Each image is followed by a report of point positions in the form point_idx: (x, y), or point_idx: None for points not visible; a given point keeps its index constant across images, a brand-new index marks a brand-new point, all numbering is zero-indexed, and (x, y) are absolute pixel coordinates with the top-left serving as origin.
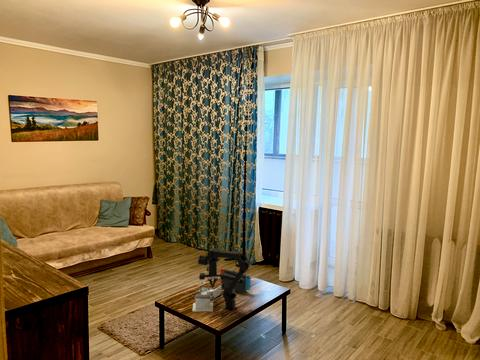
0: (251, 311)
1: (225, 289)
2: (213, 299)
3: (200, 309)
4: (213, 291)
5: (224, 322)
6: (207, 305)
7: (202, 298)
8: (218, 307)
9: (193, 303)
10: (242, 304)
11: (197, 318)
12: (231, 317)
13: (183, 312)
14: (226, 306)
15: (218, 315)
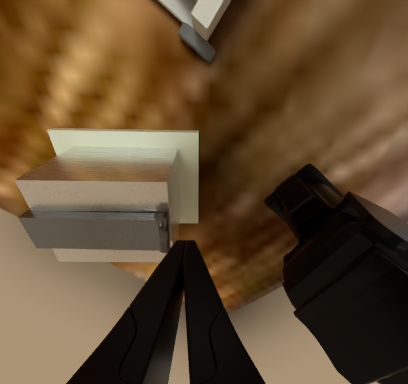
0: None
1: (341, 363)
2: (203, 58)
3: None
4: (203, 28)
5: (242, 289)
6: None
7: None
8: (232, 182)
9: (51, 138)
10: (401, 154)
11: (129, 265)
12: (279, 265)
13: None
14: (282, 207)
15: (224, 251)
